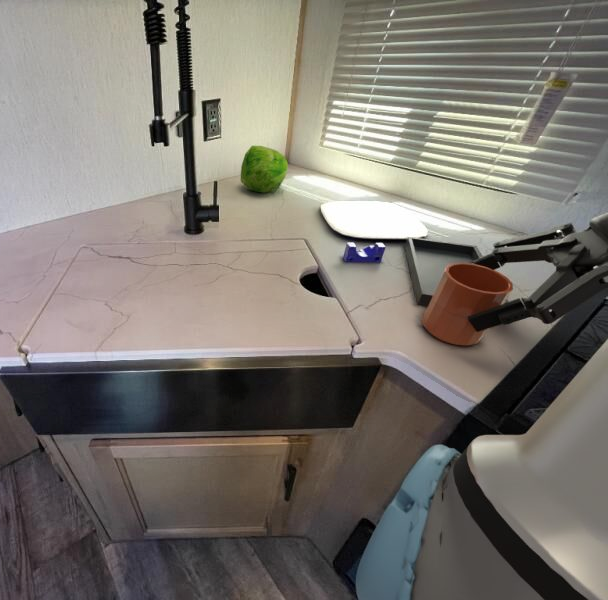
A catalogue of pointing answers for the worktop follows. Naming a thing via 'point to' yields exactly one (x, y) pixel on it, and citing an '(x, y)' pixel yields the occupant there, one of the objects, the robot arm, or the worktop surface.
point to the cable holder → (364, 253)
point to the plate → (372, 220)
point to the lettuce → (263, 169)
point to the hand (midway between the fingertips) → (461, 299)
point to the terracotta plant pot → (464, 301)
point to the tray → (434, 263)
